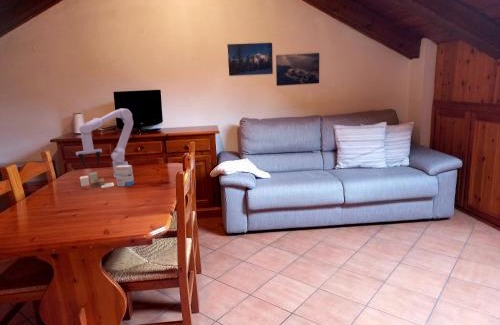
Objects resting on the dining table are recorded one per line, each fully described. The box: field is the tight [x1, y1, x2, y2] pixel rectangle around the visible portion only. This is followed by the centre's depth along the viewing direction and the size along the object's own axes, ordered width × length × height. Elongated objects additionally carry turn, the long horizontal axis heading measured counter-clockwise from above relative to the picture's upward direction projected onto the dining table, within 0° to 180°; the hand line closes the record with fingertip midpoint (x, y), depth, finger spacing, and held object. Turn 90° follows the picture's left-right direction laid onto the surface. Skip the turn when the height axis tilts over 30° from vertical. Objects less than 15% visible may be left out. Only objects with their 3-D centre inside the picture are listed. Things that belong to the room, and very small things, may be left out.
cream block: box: [79, 175, 91, 187], centre depth 208 cm, size 4×4×5 cm
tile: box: [100, 182, 115, 189], centre depth 204 cm, size 7×7×1 cm
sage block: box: [88, 171, 99, 183], centre depth 216 cm, size 4×4×5 cm
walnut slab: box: [90, 178, 106, 189], centre depth 205 cm, size 7×7×3 cm
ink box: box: [115, 164, 135, 187], centre depth 202 cm, size 8×5×12 cm, turn 84°
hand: (91, 164), depth 214 cm, fingers open, 7 cm apart
